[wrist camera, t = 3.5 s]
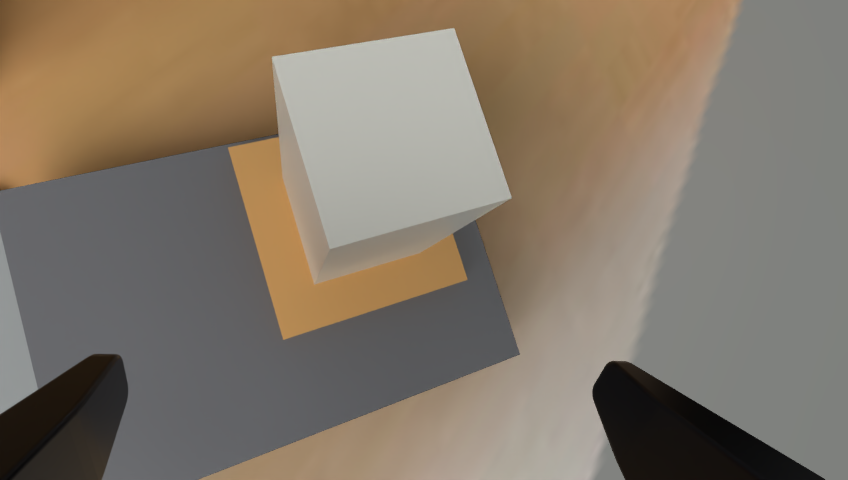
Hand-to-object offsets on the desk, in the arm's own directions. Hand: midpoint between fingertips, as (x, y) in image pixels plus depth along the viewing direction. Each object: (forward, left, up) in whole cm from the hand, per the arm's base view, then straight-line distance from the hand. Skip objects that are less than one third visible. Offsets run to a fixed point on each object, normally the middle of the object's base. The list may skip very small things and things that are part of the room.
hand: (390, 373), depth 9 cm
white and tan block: (+5, -2, -12) cm, 13 cm away
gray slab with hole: (+3, +1, -12) cm, 13 cm away
